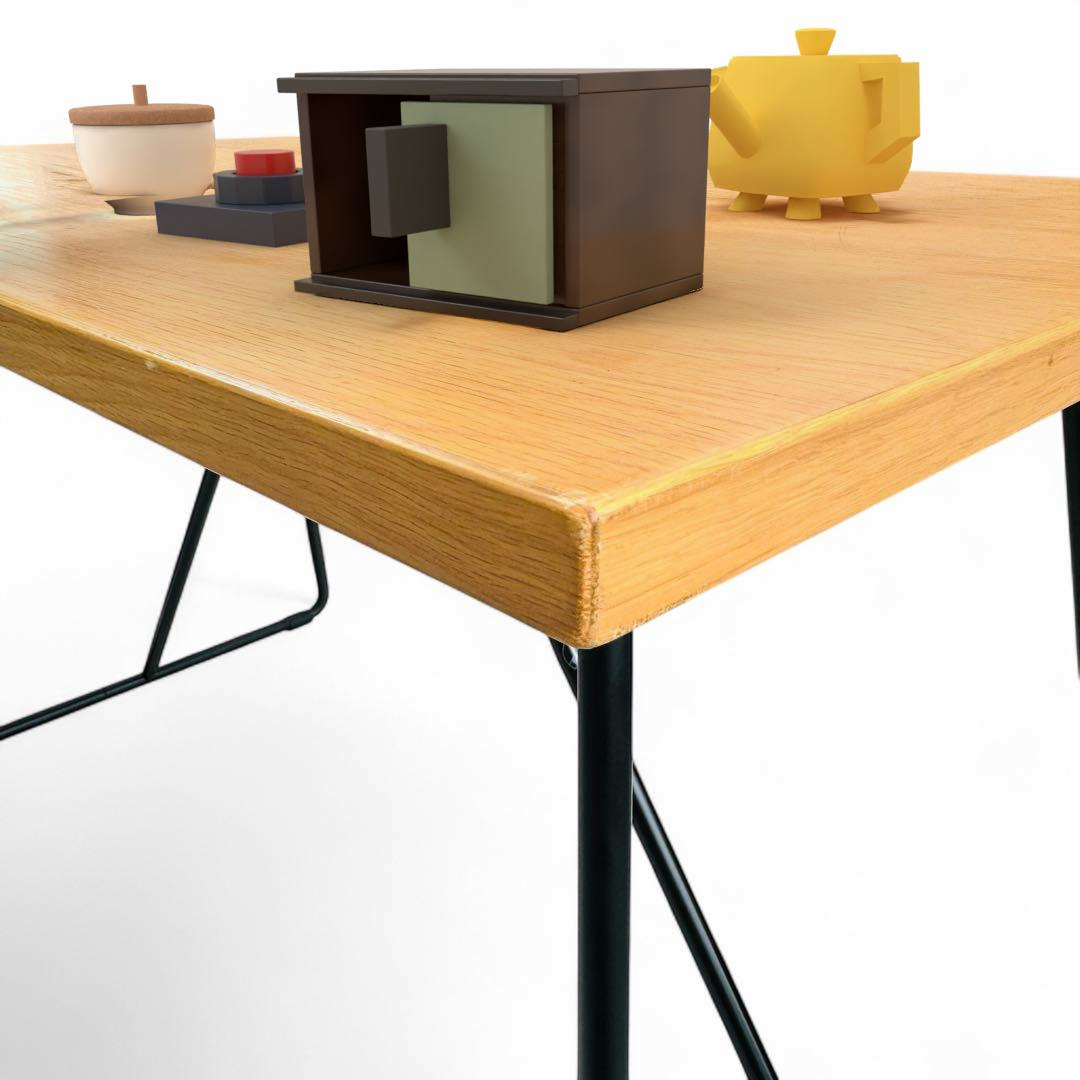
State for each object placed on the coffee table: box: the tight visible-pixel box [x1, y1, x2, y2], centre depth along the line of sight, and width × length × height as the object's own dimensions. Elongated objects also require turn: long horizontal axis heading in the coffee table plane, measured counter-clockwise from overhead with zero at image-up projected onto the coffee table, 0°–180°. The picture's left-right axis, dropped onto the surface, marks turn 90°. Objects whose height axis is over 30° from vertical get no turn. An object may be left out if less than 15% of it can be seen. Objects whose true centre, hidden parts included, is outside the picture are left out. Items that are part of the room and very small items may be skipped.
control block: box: [154, 167, 308, 249], centre depth 83 cm, size 12×10×4 cm
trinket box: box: [68, 84, 217, 217], centre depth 94 cm, size 11×11×9 cm
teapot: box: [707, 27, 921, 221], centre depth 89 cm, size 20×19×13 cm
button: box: [233, 148, 297, 175], centre depth 82 cm, size 4×4×2 cm
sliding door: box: [365, 101, 554, 305], centre depth 53 cm, size 5×8×8 cm, turn 53°
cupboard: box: [276, 67, 712, 332], centre depth 61 cm, size 12×17×11 cm
